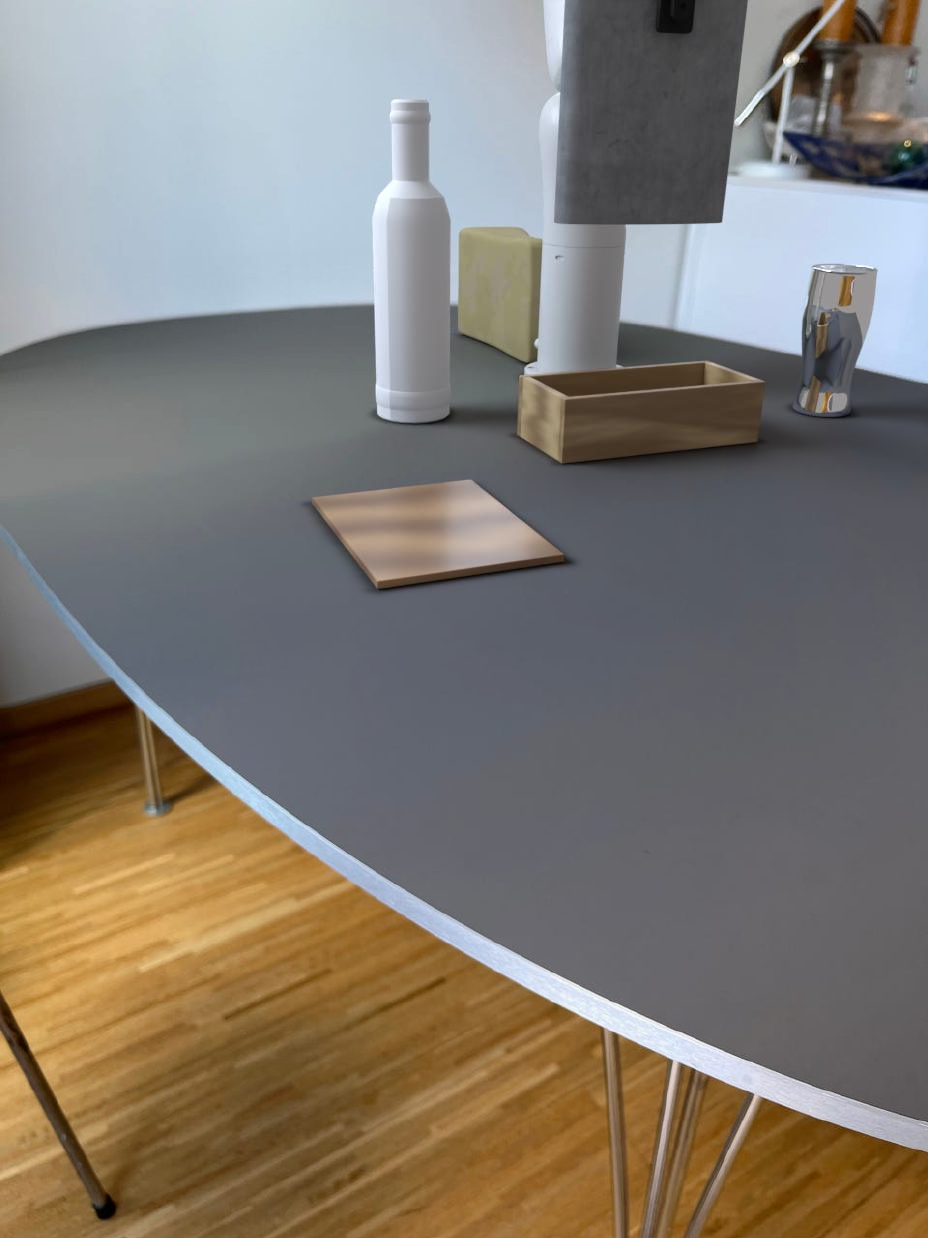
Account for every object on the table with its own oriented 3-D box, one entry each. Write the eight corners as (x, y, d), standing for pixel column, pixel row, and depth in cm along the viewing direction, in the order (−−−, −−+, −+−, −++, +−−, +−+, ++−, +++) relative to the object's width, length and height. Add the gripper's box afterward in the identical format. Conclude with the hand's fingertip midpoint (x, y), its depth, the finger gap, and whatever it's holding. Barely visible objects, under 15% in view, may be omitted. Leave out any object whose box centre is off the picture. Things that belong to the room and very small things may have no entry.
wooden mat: (312, 504, 84) (311, 497, 84) (470, 485, 89) (470, 478, 89) (377, 589, 69) (377, 581, 69) (564, 562, 74) (564, 554, 74)
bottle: (462, 410, 112) (466, 100, 99) (430, 427, 105) (429, 98, 92) (397, 401, 115) (392, 99, 102) (362, 418, 108) (351, 98, 95)
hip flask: (712, 219, 95) (740, -35, 87) (733, 223, 92) (765, -41, 83) (548, 220, 92) (561, -45, 83) (564, 225, 88) (579, -52, 79)
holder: (516, 435, 103) (518, 375, 101) (700, 416, 111) (707, 360, 108) (561, 464, 95) (565, 399, 92) (757, 441, 102) (766, 381, 100)
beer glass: (858, 420, 110) (885, 273, 103) (790, 416, 111) (812, 270, 105) (849, 404, 116) (874, 264, 109) (785, 400, 117) (806, 262, 111)
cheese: (569, 362, 134) (576, 240, 127) (497, 366, 132) (500, 241, 125) (520, 331, 153) (523, 223, 146) (456, 333, 151) (457, 224, 144)
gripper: (582, -221, 83) (569, 39, 91) (701, -288, 69) (673, 25, 77) (662, -210, 86) (643, 42, 94) (792, -272, 72) (756, 29, 80)
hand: (657, 31), depth 85 cm, fingers closed on hip flask, 4 cm apart
